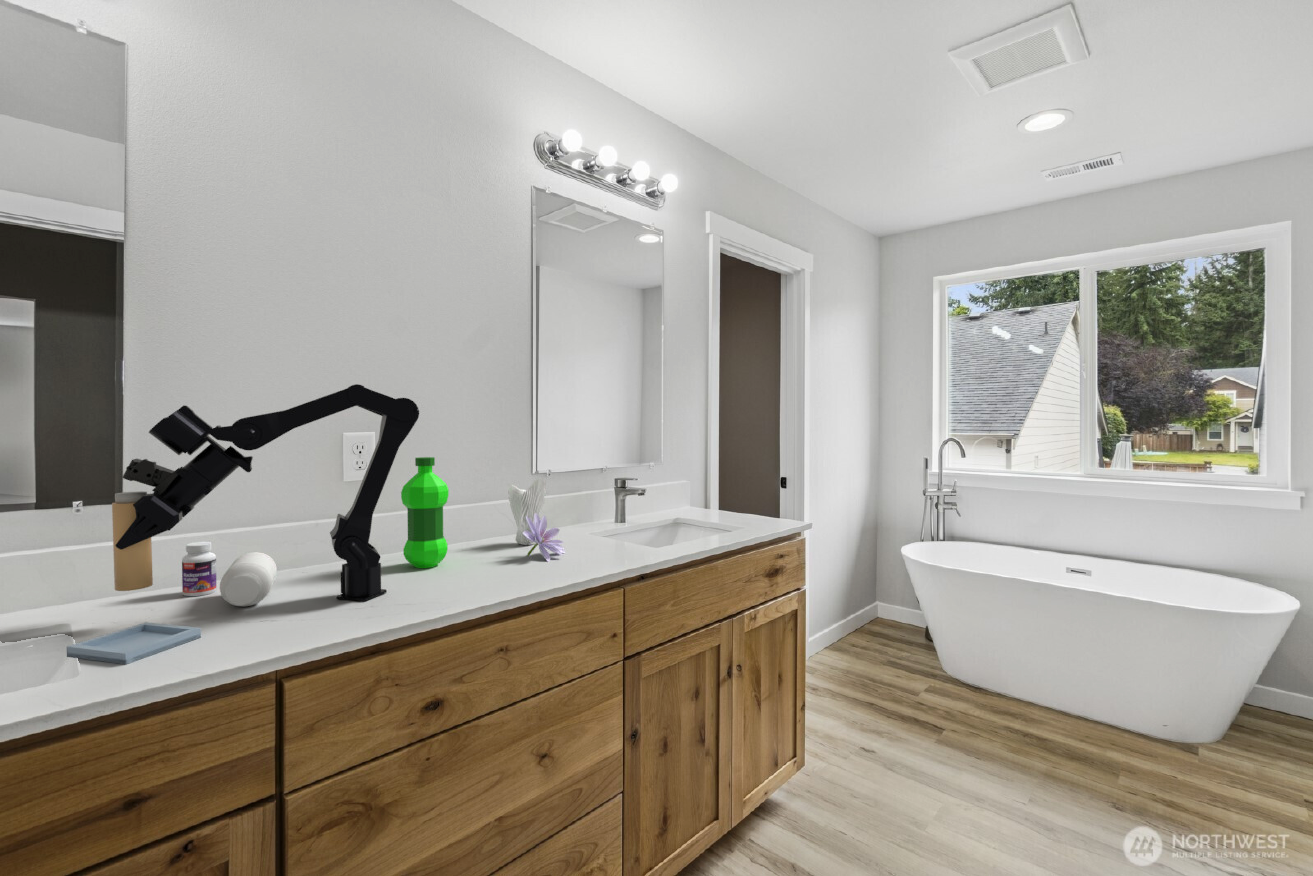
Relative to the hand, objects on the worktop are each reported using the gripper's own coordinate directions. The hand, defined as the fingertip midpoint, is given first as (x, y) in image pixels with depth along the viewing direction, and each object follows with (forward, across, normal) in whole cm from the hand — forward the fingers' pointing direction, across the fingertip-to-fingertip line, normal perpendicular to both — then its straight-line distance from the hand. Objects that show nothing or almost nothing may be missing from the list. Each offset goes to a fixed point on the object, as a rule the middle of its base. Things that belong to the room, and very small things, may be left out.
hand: (121, 544), depth 102 cm
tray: (+7, +12, +12) cm, 19 cm away
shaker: (+4, 0, +6) cm, 7 cm away
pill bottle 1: (+4, -18, +16) cm, 24 cm away
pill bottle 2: (-6, -14, +19) cm, 24 cm away
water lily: (-45, -15, +65) cm, 80 cm away
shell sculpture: (-46, -32, +66) cm, 86 cm away
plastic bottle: (-26, -20, +46) cm, 56 cm away
